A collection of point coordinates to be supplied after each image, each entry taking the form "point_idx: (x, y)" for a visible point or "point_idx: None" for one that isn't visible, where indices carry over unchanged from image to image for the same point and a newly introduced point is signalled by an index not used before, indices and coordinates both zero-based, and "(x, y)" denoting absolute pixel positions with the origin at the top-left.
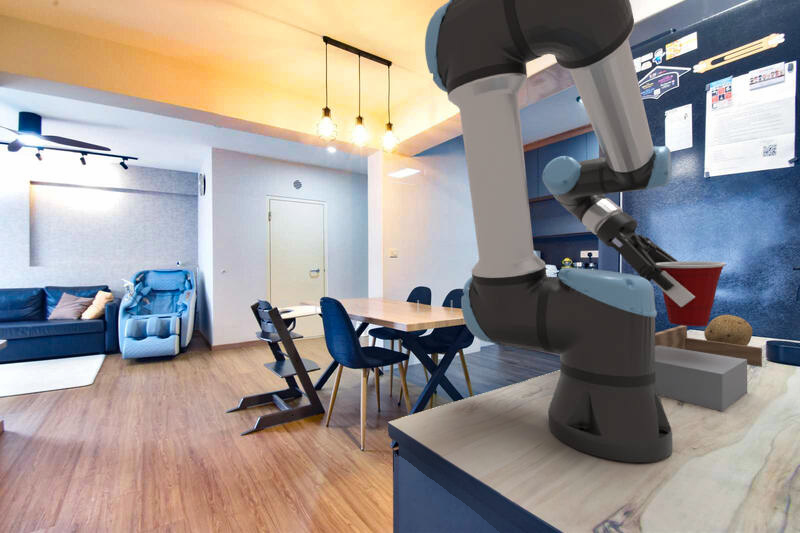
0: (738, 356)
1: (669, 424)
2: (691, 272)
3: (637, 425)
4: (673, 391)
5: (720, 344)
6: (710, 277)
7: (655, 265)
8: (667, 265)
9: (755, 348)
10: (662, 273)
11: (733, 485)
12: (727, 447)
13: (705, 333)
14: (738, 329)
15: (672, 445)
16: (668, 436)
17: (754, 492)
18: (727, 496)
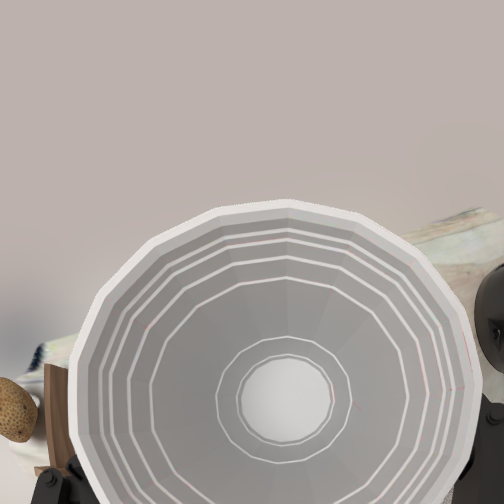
0: (63, 395)
1: (496, 270)
2: (409, 303)
3: None
4: None
5: (52, 417)
6: (319, 271)
7: (501, 441)
8: (474, 402)
9: (50, 370)
10: None
11: (479, 233)
12: (442, 262)
13: (22, 440)
14: (11, 392)
15: (486, 276)
16: (501, 264)
17: (474, 224)
18: (490, 229)
